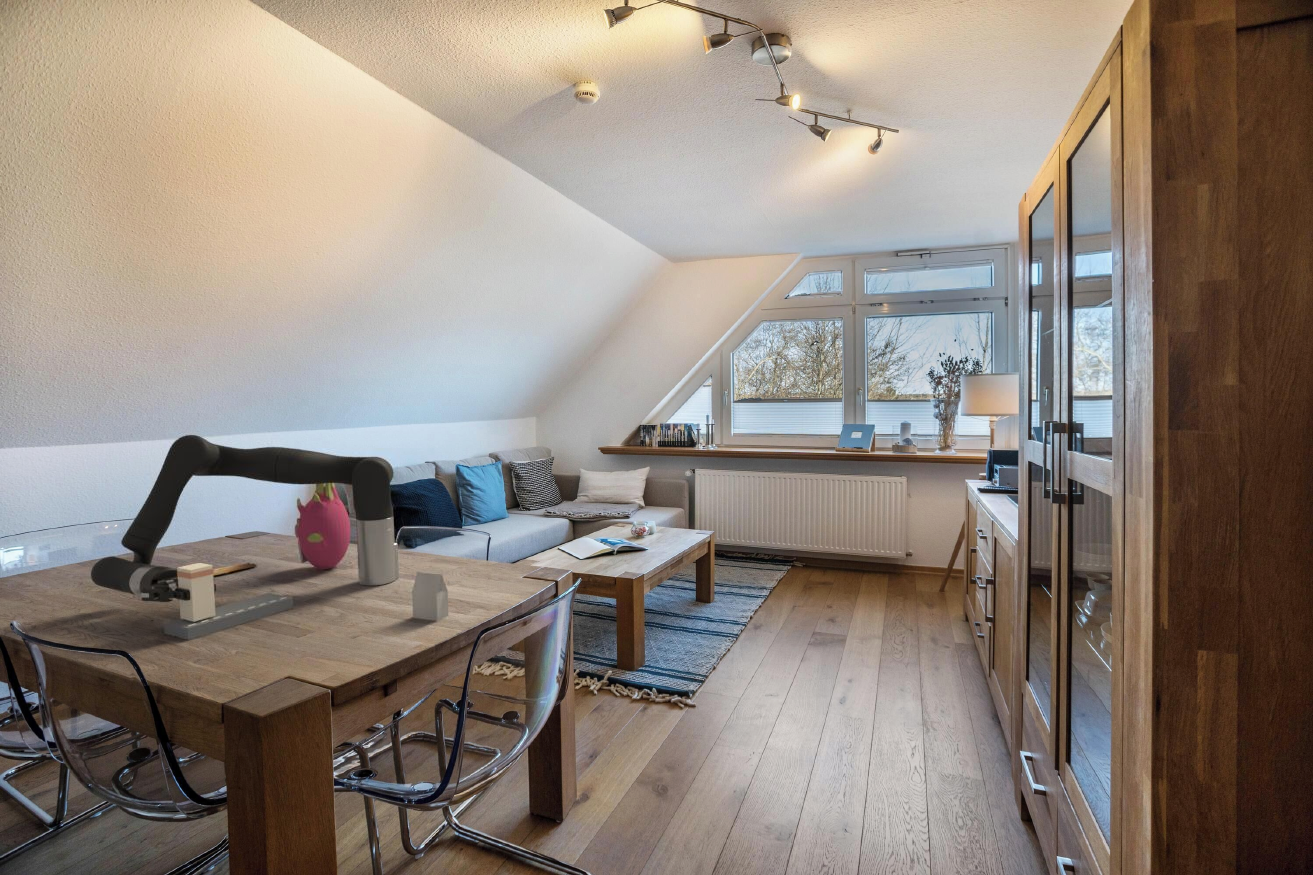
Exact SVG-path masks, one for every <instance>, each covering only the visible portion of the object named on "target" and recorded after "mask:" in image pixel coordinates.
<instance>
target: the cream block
mask: <svg viewBox="0 0 1313 875" xmlns="http://www.w3.org/2000/svg"><path fill="white" fill-rule="evenodd" d="M213 567H214V566H213V565H212V564H207V563H203V562H202V563H201V562H197V563H196V562H195V563H192V564H188V565H183V566H179V567H177V568H176V569H177V576H178V587H179V588H183V589H188V590H190V600H188V601H184V600H180V599H178V601H179V616H180V617H179V618H181V619H185V620H189V621H193V622H195V621H198V620H202V619H205V618H209V617H212V616H216V613H215V608H216V602H215V601H216V600H215V594H214V584H215V579H214V580H213V578H214V576H213V569H214V568H213Z"/></svg>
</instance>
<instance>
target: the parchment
mask: <svg viewBox="0 0 1313 875" xmlns="http://www.w3.org/2000/svg"><path fill="white" fill-rule="evenodd" d="M253 567H254V568H257V565H256V563H249V562H246V563H241V564H236V565H235V564H234V565H231V566H224V567H219V568H213V577H214V576H217V575H218V576H219V575H223V574H229V573H230V572H231V573H232V572H237V571H239V570H244V569H249V568H253Z"/></svg>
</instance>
